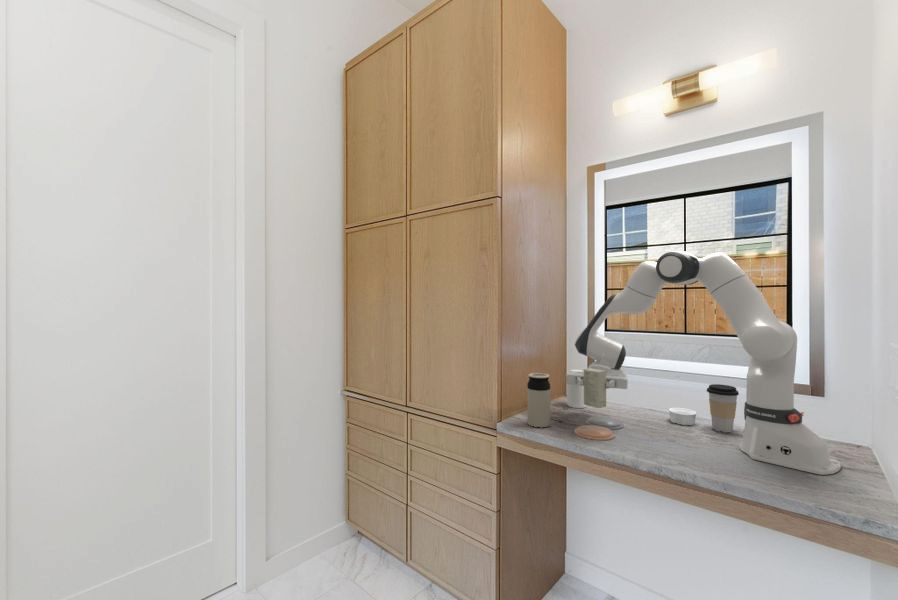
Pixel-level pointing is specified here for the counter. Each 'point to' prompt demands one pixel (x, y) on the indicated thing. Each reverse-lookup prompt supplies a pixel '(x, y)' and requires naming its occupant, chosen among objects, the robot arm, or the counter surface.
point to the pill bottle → (575, 395)
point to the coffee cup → (722, 406)
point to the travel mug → (538, 400)
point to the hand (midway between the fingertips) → (594, 384)
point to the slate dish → (605, 422)
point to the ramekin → (682, 416)
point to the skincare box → (595, 388)
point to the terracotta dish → (594, 432)
